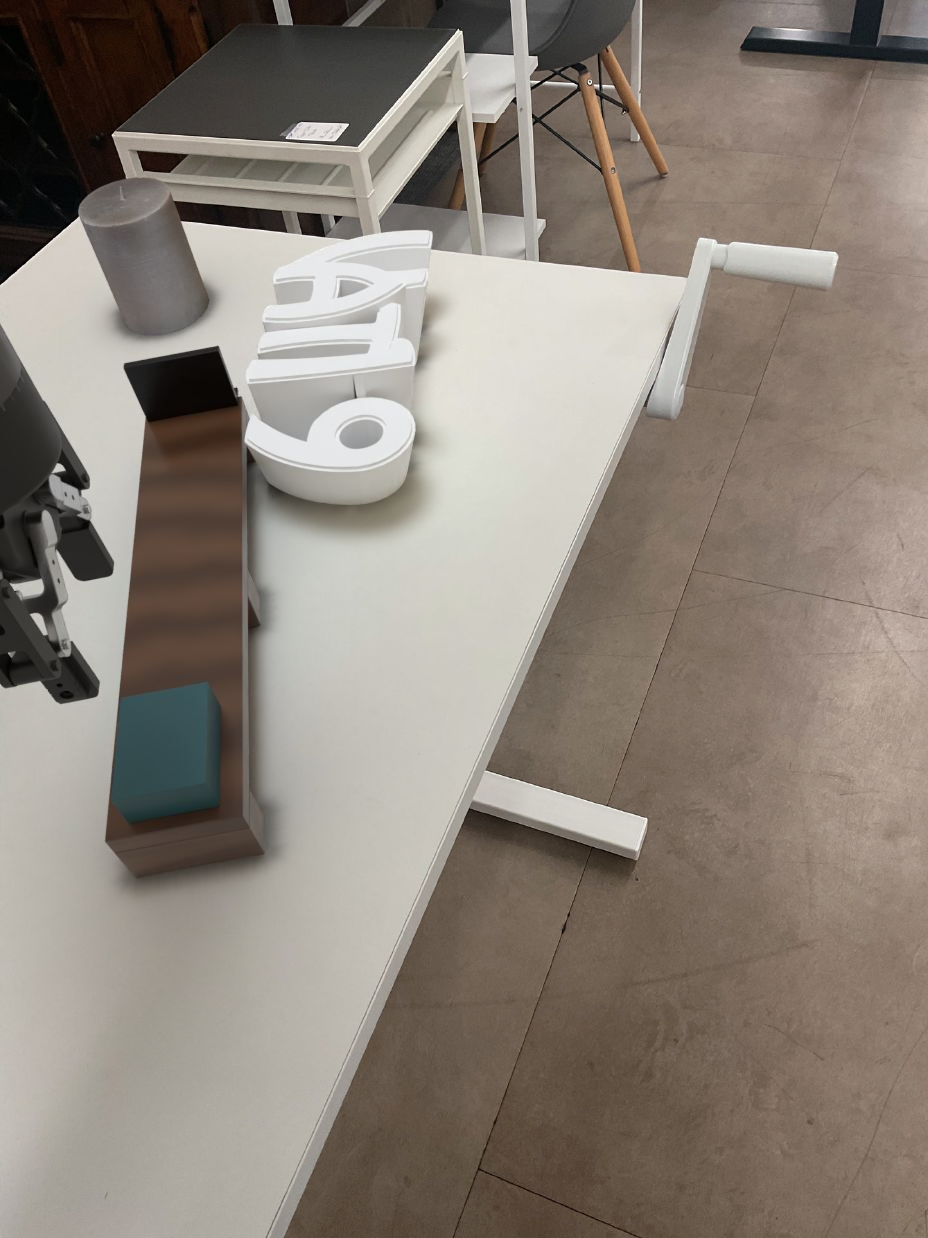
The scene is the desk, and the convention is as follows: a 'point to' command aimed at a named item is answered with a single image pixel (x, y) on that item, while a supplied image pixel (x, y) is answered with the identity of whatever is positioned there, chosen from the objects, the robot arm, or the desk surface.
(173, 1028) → the desk surface
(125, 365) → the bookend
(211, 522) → the shelf
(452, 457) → the desk surface
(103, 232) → the pillar candle
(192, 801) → the teal rectangular block
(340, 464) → the white numeral sign
